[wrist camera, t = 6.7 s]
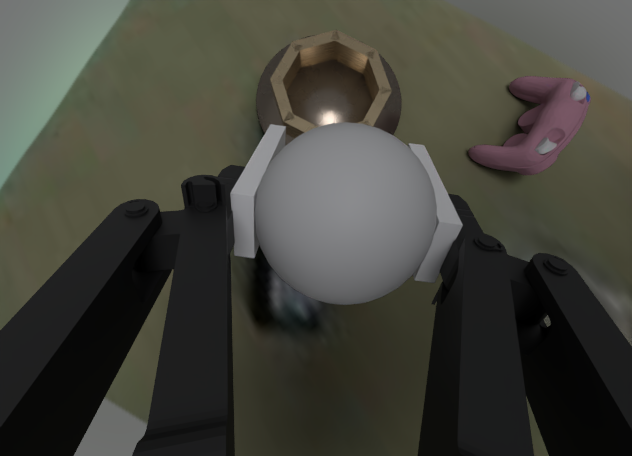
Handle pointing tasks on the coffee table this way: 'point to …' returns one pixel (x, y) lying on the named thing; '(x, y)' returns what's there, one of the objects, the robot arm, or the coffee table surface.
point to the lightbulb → (345, 213)
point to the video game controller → (538, 125)
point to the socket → (328, 86)
